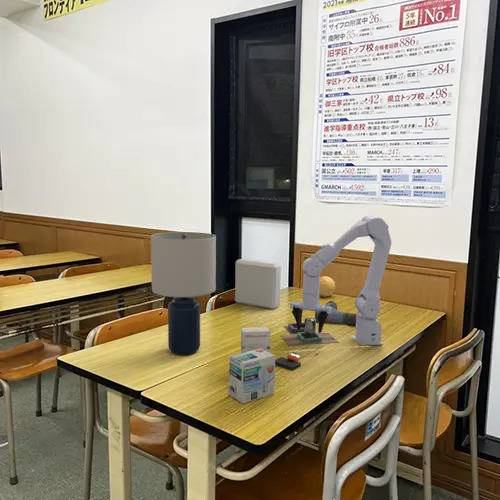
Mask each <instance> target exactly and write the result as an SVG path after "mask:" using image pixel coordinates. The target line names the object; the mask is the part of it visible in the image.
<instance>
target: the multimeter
mask: <svg viewBox="0 0 500 500" xmlns="http://www.w3.org/2000/svg"><path fill="white" fill-rule="evenodd" d="M318 354H319V352H318V353H316V354H314V355H313V357H315V356H317V355H318ZM300 359H301V355H300V354H299V353H297V352H294V351H293V352H292V353H288V354H287V357H278V358H275V367H276V366H277V367H281V368H283V369H287V370H288V371H295V370H296V369H298V368H301V366H302V363H301V362H300V361H299V360H300Z"/></svg>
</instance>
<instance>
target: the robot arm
mask: <svg viewBox="0 0 500 500" xmlns="http://www.w3.org/2000/svg"><path fill="white" fill-rule="evenodd" d="M389 227H390V226H389V225H388V223H386V220H384V219H383V218H381V217H378V216H377V217H376V216H373V215H365V216H364V217H363V218H361V220H357V222H355V223H354V224H353V225H352V226H351V227H350V228H349V229H348V230H347V231H346V232H345V233H343V234H342V235H341V236H339V238H337V240H336V241H335V242H333V243H326V244H322V245H321V246H320V247H321V248H320V249H319V250H318V251H317V252H315V253H311V254H310V256H311V257H308V258H305V260H304V261H303V263H302V265H301V268H302V271H303V279H302V301H298V302H297V301H291V302H290V304H289V305H290V306H289V309H292V310H291V313H292V315H293V317H294V320H295V323H297V329H299V330H300V329H301V326H302V323H303V310H304V311H310V312H311V311H312V312H315V311H317V312H320V313H319V314H318V320H319V322H318V328H317V331H318V332H317V333H323V329H324V325H325V323H326V322H325V320H326V318H327V316H328V314H330V313H331V308H332V307H328V306H325V305H323V304H320V295H319V288H320V280H319V279H320V277H321V274H322V272H323V269H324V268H326V267H327V266H328V265H329V264H330V263H332V262H333V261H335V260H336V259H337V258H338V257H339V254H340V251H341V250H343V249H344V248H345V247H347V246H348V245H349V244H351V243H352V242H353V241H355V240H356V239H357V238H364V237H369V238H370V239H371V241H372V242H373V244H374V247H373V251H372V254H371V260H370V263H369V267H368V271H367V275H366V279H365V282H364V285H363V286H364V287H363V288H362V289H360V291H359V292H360V293H359V295H358V296H357V298H356V299H355V301H354V306H355V308H356V309H357V311H356V313H355V314H356V325H355V334H354V335H350V337H351V338H352V339H354V340H355V341H356V342H357V343H359V344H360V345H361V346H363V347H367V346H369V345H372V346H379V345H380V346H381V345H383V344H384V343H383V341H381V340H382V339H381V338H382V326H381V323H380V322H379V320H378V316H379V314H380V313H381V305H380V304H381V303H380V301H381V295H380V289H381V286H382V280H383V278H384V274H385V270H386V266H387V262H388V258H389V254H390V251H391V247H392V238H391V234H390V231H389Z"/></svg>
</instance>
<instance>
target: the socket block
mask: <svg viewBox="0 0 500 500" xmlns="http://www.w3.org/2000/svg"><path fill="white" fill-rule="evenodd" d="M282 327H283V328H284V329H285V330H286V331H287V332H288V333H289V335H297V333H298V332H304V322H302V326H301V329H300V330H299V329H297V323H296V322H291V323H290V322H289V323H288V324H287V325H283V326H282Z"/></svg>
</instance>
